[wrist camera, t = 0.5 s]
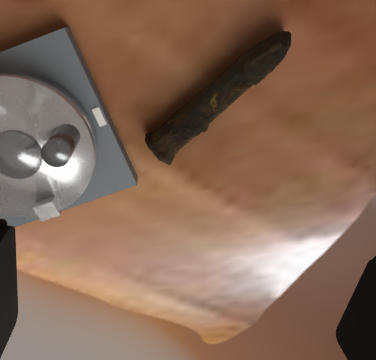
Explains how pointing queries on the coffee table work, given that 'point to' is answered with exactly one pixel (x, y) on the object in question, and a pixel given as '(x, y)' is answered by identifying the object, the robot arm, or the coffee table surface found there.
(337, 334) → the robot arm
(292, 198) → the coffee table surface
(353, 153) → the coffee table surface
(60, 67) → the gray plinth
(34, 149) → the silver disc
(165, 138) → the hand tool
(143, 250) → the coffee table surface
